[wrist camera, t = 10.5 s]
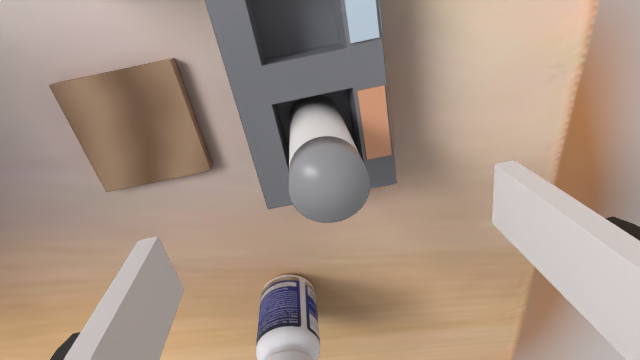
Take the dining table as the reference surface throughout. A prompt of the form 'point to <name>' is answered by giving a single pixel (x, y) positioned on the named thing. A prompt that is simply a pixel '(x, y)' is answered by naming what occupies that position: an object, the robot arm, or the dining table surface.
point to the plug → (324, 163)
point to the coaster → (135, 124)
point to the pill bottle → (288, 320)
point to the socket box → (305, 78)
